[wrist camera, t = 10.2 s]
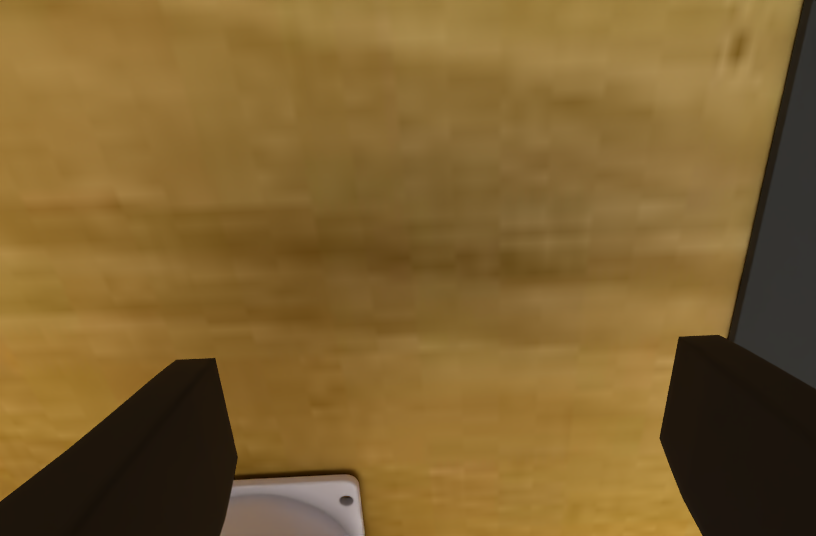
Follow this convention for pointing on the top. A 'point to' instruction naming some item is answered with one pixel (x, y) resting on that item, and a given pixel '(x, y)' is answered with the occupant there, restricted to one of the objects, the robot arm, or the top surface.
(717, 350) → the robot arm
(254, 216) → the top surface
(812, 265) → the mat
